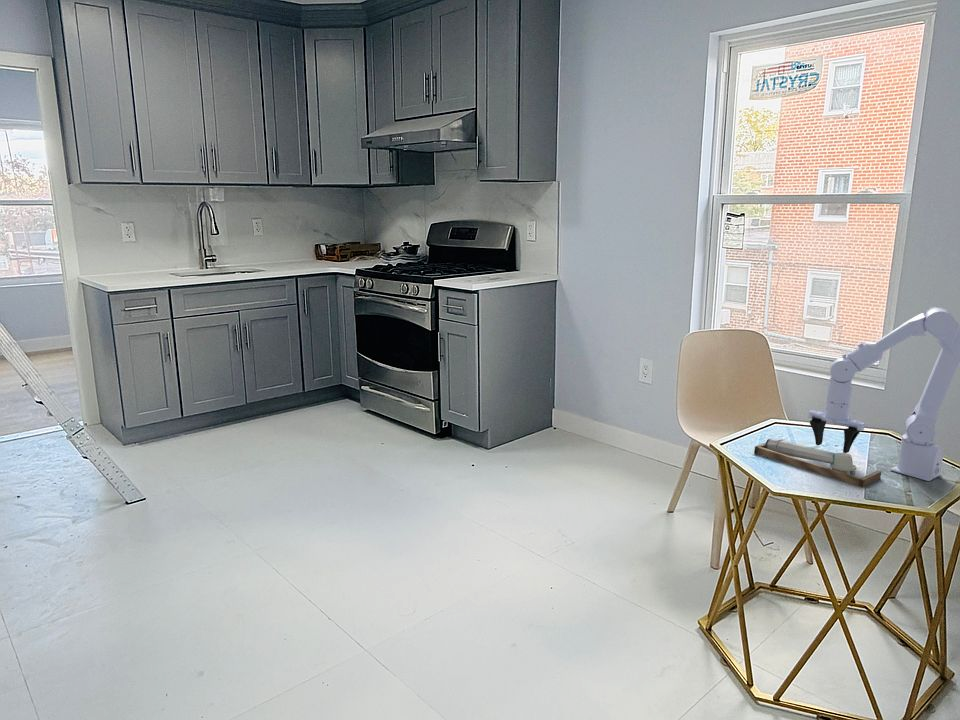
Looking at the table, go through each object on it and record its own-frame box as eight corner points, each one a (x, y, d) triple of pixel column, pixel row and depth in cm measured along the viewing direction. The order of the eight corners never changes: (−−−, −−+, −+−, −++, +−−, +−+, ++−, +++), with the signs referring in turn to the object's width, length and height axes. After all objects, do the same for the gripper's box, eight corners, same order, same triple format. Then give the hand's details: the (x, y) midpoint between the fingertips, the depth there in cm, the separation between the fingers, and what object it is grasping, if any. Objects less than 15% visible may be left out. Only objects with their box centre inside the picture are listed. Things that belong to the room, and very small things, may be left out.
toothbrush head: (774, 436, 200) (860, 450, 179) (775, 458, 201) (860, 475, 180) (763, 439, 198) (849, 454, 176) (763, 461, 198) (849, 479, 177)
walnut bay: (880, 478, 180) (881, 471, 179) (862, 487, 174) (863, 480, 173) (773, 446, 203) (773, 439, 202) (754, 453, 197) (754, 446, 196)
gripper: (805, 398, 193) (799, 443, 196) (858, 410, 182) (851, 458, 185) (817, 394, 197) (812, 439, 200) (870, 406, 186) (864, 453, 189)
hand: (832, 448), depth 193 cm, fingers open, 7 cm apart
